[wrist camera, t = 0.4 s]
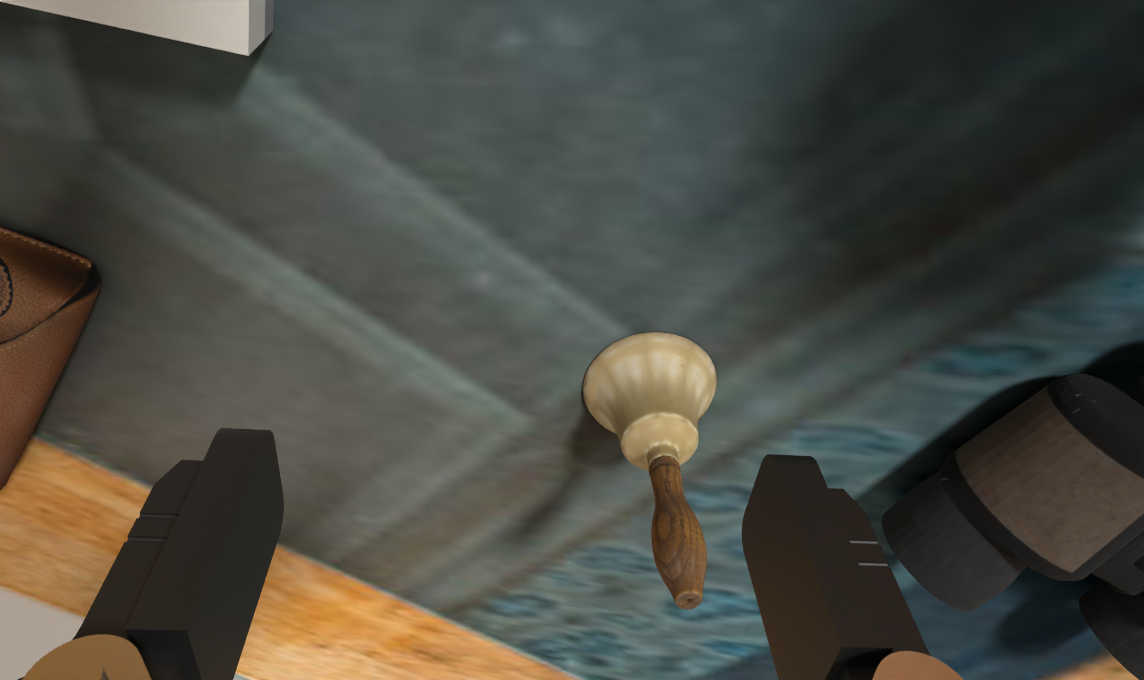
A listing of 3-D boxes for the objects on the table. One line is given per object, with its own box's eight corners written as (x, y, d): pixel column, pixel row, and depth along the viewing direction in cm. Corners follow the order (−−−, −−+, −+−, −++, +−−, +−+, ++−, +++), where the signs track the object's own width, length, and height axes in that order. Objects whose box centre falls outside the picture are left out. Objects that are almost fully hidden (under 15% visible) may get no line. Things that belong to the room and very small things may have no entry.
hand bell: (572, 429, 51) (589, 651, 38) (595, 323, 46) (623, 536, 33) (696, 440, 52) (753, 660, 39) (731, 338, 48) (809, 550, 35)
